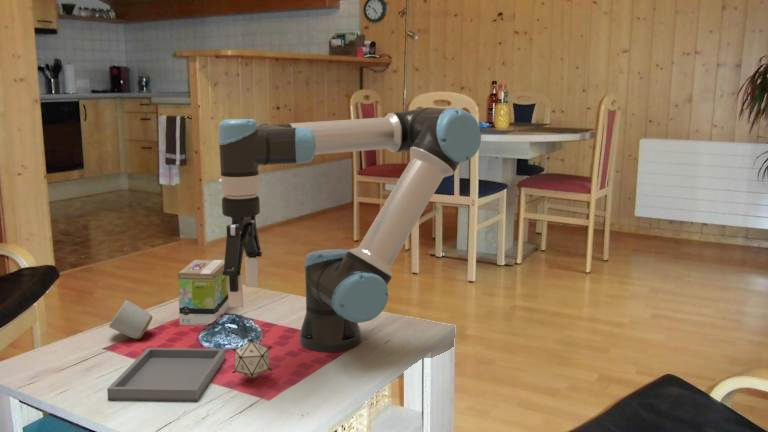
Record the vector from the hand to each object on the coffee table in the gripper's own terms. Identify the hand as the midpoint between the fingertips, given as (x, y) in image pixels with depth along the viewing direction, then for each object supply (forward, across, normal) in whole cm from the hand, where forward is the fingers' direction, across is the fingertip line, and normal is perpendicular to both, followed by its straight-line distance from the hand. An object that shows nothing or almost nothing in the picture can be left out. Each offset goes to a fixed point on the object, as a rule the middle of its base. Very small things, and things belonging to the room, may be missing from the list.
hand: (244, 296), depth 144 cm
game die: (+19, 0, +1) cm, 19 cm away
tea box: (+19, -40, -22) cm, 49 cm away
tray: (+19, 0, -17) cm, 25 cm away
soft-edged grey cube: (+19, -25, -36) cm, 47 cm away
